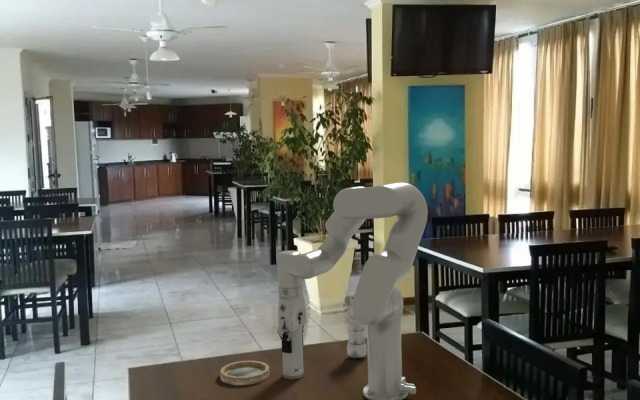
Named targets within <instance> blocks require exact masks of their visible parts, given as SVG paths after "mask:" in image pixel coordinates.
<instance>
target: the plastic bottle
mask: <svg viewBox="0 0 640 400" xmlns="http://www.w3.org/2000/svg"><path fill="white" fill-rule="evenodd" d="M353 297H354V296H351V297H349V304H350V305H349V308H347V311H346V323H347V330H348V332H347V333H348V336H347V346H346V353H347V355H348V357H349V358H351V359H361V358H365V356H366V355H367V353H368V352H367V342H366V335H365V333H366V331H365V329H366V328H365V327H366V325H363V324H361V323H360V322H358V321H357V319H356V318H355V316H354V314H353V311H352V302H353Z"/></svg>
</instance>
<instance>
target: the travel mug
mask: <svg viewBox="0 0 640 400" xmlns="http://www.w3.org/2000/svg"><path fill="white" fill-rule="evenodd" d="M298 315H299V317H298V320H299V325H298V326H299V327H298V329H297V330H295V331H293V332H291V337H290V340H291V341H292V353H283V352H282V351H281V352H282V356H281V357H282V376H283V378H285V379H287V380H298V379H301V378H302V377H303V376H304V354H303V352H304V351H303V346H302V334H303V333H302V327H301V326H300V325H301V321H300V320H301V318H300V315H302V312H301V313H299V314H298ZM284 329H286V330H288V329H287V327H284ZM285 333H286V335H287V334H288V332H285Z"/></svg>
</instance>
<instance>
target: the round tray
mask: <svg viewBox="0 0 640 400" xmlns="http://www.w3.org/2000/svg"><path fill="white" fill-rule="evenodd" d="M219 377H220V380H221V382H223V383H225V384H227V385H232V386H248V385H249V386H251V385H255V384H259V383H261V382H264V381H265V380H267V379H268V378H269V377H270V365H269V364H267V363H265V362H264V361H257V360H239V361H234V362H231V363H227V364H226V365H224V366H222V367H221V368H220V372H219Z"/></svg>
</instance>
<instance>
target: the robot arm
mask: <svg viewBox="0 0 640 400" xmlns="http://www.w3.org/2000/svg"><path fill="white" fill-rule="evenodd" d="M332 203H333V204H332V206H333V211H334V212H333V213H332V214H331V215H330V217H328V219H327V220H326V221H325V224H324V225H325V226H324V227H325V230H326V232H327V233H328V234H327V236H326V238H324V239H325V240H324V241H323V242H322V243H321V245H320V246H318V248H317V249H315V250H311V251H308V252H304V253H301V252H300V251H297V250H283V251H280V252H278V254H277V256H276V257H277V258H276V267H277V268H276V269H277V295H278V296H277V297H278V303H277V304H278V305H277V311H278V312H277V323H278V324H277V325H278V327H277V330H276V333H277V334H278V336H279V339H280V340H281V352H283V353H292V341H291V340H290V337H291V332H293V331H295V330H297V329H298V327H299V326H298V325H299V320H298V317H299V315H298V314H299V313H301V312H302V315H300V318H301V320H300V321H301V325H300V326H301V327H302V347H303V346H304V332H305V330H304V328H305V325H306V324H307V318H308V317H307V308H306V301H305V300H306V299H305V295H304V285H303V284H304V280H309V279H314V278H316V277H318V276H321V275H323V274H326V273H328V272H329V271H331V270H332V269H333V268H334V267H335V265H336V264H337V263H338V262H339V260H340V259H341V258H342V257H343V256H344V255H345V253H346V251H347V250H348V249H347V248H348V246H349V244H350V243H349V242H350V241H351V239H352V237H353V236H354V235H355V234H356V232H357V231H358V230H359V229H360V227H361V226H362V225H363V224H364V223H365V221H366V220H370V219H371V220H372V219H373V220H374V219H384V218H391V217H396V219H395V220H394V221H395V222H394V223H393V225H392V227H391V228H390V231H389V234H388V238H387V240H386V243H385V245H384V248H382V249H383V250H381V251H379V252H377V253H375V254H373V255H372V256H370V257H369V258H368V259H367V260H366V261H365V264H364V266H363V267H362V270H361V274H360V276H359V279H358V283H357V286H356V289H355V292H354V294H353V296H352V297H353V302H352V311H353V314H354V316H355V318H356V319H357V321H358V322H360V323H361V324H363V325H365V326H367V327H366V337H367V339H366V347H367V352H366V353H367V380H368V381H367V382H368V384H367V385H366V386H364V387H363V389H362V394H363V396H364V398H366V399H368V400H404V399H406V398H407V397H408V395H409V394H412V395H415V394H417V387H416V385H415V384H414V383H408V382H407V381H406V376H403V361H402V357H403V356H402V353H403V352H402V321H403V320H402V318H403V311H404V298H403V297H404V296H403V293H402V291H401V290H400V288H399V287H398V286H397V285H398V284H400V283H402V282H403V281H405V280H406V279H407V278H408V277H409V275H410V273H411V271H412V267H413V264H414V261H415V258H416V256H417V252H418V250H419V246H420V242H421V240H422V237H423V235H424V231H425V228H426V225H427V221H428V214H429V213H428V204H427V201H426V199H425V196H424V195H423V193H422V192H421V191H420V190H419V189H418V188H417V187H416V186H415V185H413V184H411V183H408V182H394V183H388V184H382V185H374V186H359V185H358V186H352V187H347V188H343V189H341V190H340V191H338V193H336V195H335V196H334V199H333V202H332ZM284 327H287V329H288V330H286V329H284ZM285 332H288V334H287V335H286V333H285Z"/></svg>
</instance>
